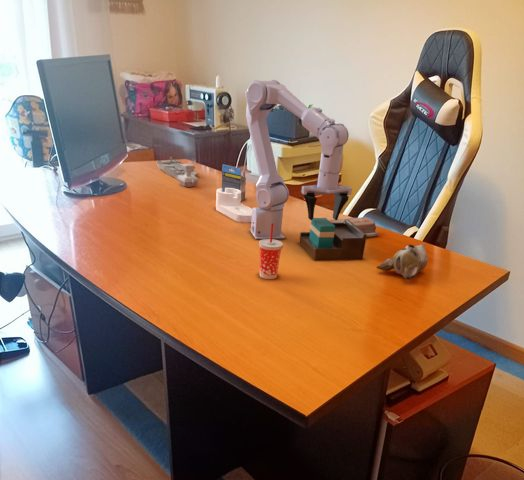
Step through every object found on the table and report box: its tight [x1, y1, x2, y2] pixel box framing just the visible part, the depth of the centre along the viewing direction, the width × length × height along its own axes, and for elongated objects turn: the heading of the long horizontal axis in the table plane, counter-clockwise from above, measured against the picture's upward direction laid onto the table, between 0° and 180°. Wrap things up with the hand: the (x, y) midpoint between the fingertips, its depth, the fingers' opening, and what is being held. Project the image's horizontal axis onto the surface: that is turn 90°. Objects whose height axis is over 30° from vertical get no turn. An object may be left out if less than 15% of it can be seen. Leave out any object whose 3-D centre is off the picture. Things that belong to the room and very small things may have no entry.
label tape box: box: [221, 164, 247, 202], centre depth 197 cm, size 9×4×12 cm, turn 58°
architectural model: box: [156, 156, 199, 179], centre depth 229 cm, size 12×25×5 cm, turn 35°
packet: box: [309, 217, 335, 248], centre depth 153 cm, size 5×8×6 cm, turn 15°
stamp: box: [176, 163, 200, 188], centre depth 210 cm, size 9×7×8 cm
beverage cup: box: [258, 223, 284, 280], centre depth 133 cm, size 6×6×14 cm
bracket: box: [215, 187, 253, 223], centre depth 181 cm, size 20×9×7 cm, turn 33°
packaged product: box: [328, 216, 380, 238], centre depth 171 cm, size 18×5×10 cm
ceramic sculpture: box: [376, 243, 429, 280], centre depth 143 cm, size 11×9×15 cm
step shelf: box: [298, 218, 368, 261], centre depth 155 cm, size 15×15×8 cm
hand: (322, 219), depth 152 cm, fingers open, 7 cm apart
